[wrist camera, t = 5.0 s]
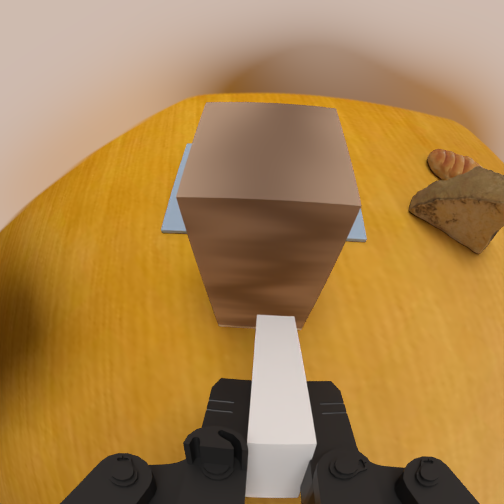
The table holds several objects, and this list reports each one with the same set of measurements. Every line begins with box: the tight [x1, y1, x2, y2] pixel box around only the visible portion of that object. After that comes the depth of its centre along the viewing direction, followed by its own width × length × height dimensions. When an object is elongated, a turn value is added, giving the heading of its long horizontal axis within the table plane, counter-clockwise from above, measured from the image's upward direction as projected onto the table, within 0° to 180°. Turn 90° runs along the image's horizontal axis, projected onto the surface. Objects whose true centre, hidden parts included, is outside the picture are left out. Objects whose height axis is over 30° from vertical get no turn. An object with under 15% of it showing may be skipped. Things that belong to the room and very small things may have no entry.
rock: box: [409, 166, 504, 254], centre depth 24 cm, size 11×9×10 cm
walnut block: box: [176, 102, 361, 330], centre depth 17 cm, size 6×6×14 cm
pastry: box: [428, 149, 480, 181], centre depth 29 cm, size 9×7×4 cm
